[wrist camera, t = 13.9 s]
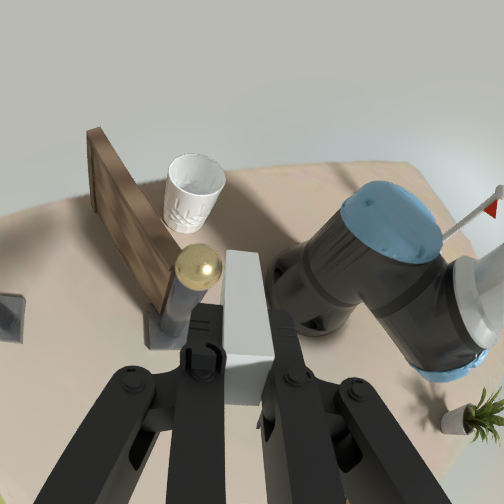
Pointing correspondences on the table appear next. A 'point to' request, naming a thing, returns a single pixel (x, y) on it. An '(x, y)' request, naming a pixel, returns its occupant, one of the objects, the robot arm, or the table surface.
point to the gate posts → (160, 325)
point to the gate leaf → (131, 220)
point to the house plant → (474, 418)
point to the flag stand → (478, 212)
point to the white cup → (191, 191)
